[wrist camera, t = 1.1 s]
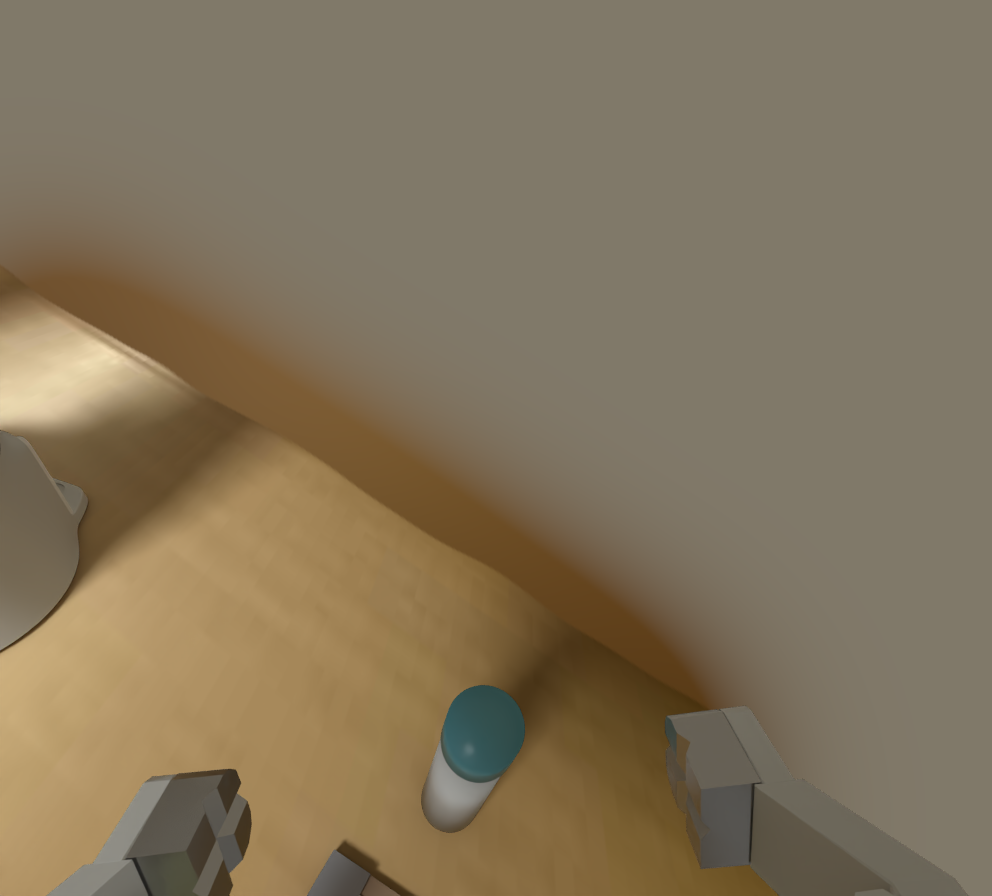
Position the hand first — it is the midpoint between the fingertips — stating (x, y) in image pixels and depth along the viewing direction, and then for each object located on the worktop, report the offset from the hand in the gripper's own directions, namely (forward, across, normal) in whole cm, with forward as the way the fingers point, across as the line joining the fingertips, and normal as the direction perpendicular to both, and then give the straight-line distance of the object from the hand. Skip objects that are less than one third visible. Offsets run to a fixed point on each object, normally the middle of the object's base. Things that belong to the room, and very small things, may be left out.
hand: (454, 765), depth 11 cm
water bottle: (+18, +4, +22) cm, 29 cm away
